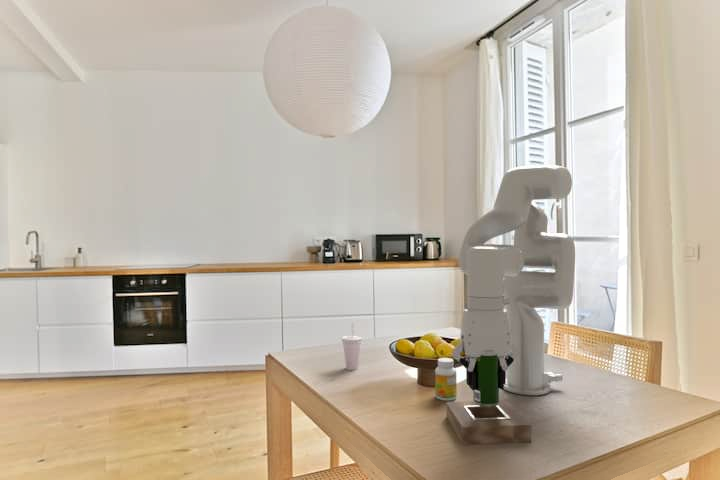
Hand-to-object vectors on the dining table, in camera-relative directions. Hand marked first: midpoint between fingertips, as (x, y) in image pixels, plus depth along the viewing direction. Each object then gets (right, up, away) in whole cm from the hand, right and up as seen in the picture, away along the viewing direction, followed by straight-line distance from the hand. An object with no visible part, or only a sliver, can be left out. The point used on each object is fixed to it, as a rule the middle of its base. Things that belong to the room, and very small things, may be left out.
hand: (485, 386), depth 103 cm
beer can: (0, -4, 0) cm, 4 cm away
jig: (0, -9, 0) cm, 9 cm away
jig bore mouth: (0, -6, 0) cm, 6 cm away
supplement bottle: (-5, -9, +20) cm, 22 cm away
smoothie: (-30, -9, +47) cm, 56 cm away
